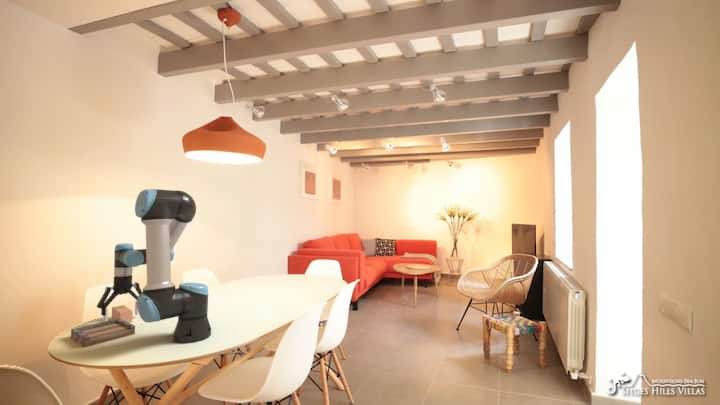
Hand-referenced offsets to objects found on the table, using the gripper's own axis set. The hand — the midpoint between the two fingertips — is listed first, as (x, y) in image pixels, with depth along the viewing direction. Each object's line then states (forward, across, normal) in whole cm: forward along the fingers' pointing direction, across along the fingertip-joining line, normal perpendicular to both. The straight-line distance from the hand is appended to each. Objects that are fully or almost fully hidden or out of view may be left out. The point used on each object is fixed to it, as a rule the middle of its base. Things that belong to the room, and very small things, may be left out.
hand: (121, 318), depth 168 cm
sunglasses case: (+1, 0, 0) cm, 1 cm away
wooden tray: (+1, +13, +16) cm, 21 cm away
